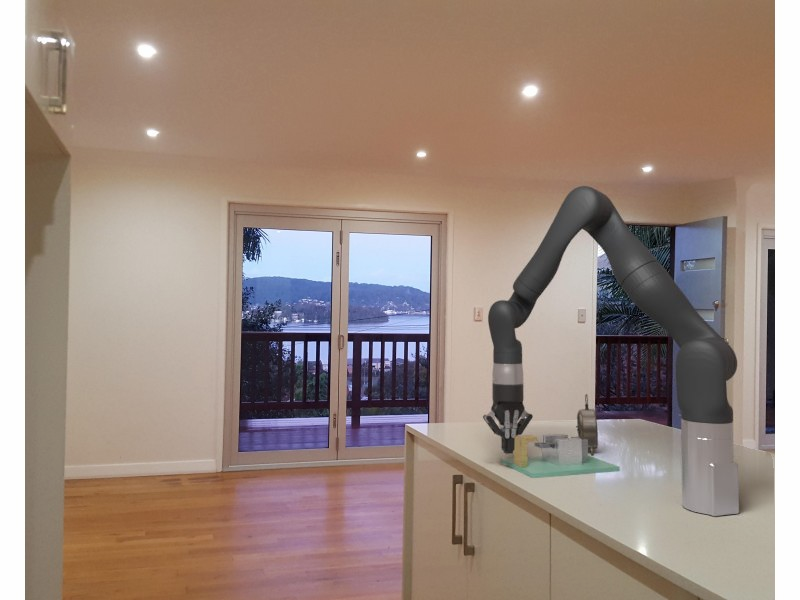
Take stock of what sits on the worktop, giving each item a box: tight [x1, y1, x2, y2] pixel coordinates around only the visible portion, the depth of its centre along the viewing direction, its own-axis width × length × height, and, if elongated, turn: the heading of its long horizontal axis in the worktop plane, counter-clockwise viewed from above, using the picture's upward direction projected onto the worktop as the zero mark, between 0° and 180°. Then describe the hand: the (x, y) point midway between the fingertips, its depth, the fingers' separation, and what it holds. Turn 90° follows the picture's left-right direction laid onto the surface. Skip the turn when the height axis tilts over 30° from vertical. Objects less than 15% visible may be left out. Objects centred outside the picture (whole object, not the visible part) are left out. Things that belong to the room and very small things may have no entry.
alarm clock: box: [575, 393, 599, 456], centre depth 174 cm, size 11×5×16 cm, turn 168°
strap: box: [533, 441, 555, 449], centre depth 156 cm, size 3×12×1 cm, turn 107°
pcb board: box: [500, 455, 621, 479], centre depth 156 cm, size 16×24×1 cm, turn 108°
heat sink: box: [541, 433, 589, 467], centre depth 157 cm, size 8×10×6 cm
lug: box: [513, 434, 538, 467], centre depth 153 cm, size 4×5×7 cm
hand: (508, 452), depth 151 cm, fingers closed
